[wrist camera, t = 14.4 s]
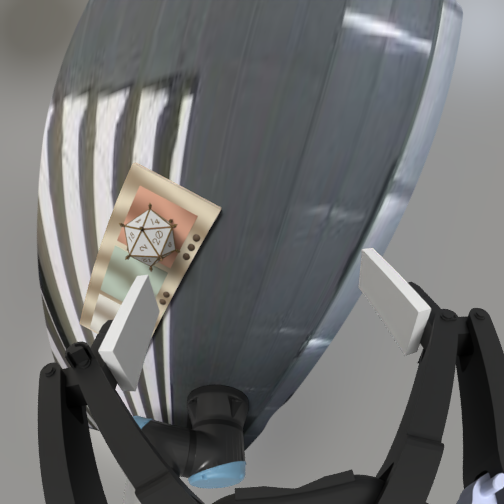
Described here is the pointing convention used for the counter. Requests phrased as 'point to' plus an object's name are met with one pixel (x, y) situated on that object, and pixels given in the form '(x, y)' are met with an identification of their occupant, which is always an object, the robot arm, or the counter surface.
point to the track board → (125, 271)
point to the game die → (149, 238)
